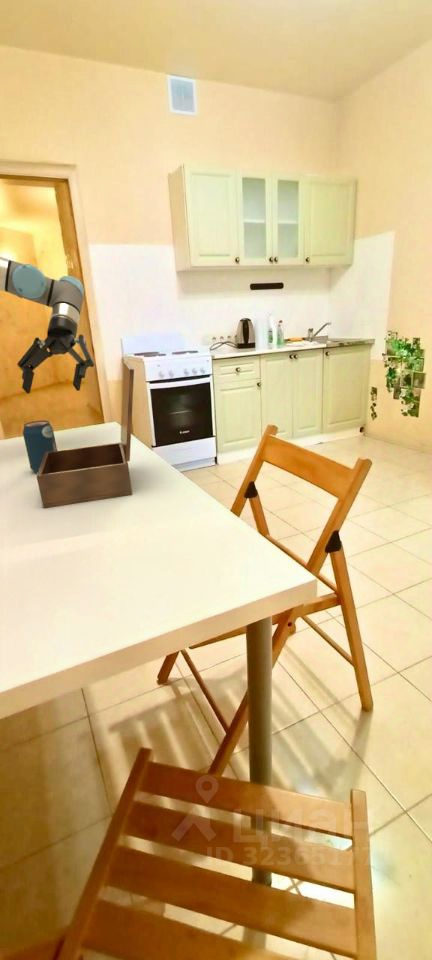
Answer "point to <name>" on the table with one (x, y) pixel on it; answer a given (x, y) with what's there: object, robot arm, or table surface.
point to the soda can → (38, 442)
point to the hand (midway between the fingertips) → (50, 389)
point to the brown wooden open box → (83, 475)
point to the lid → (127, 409)
